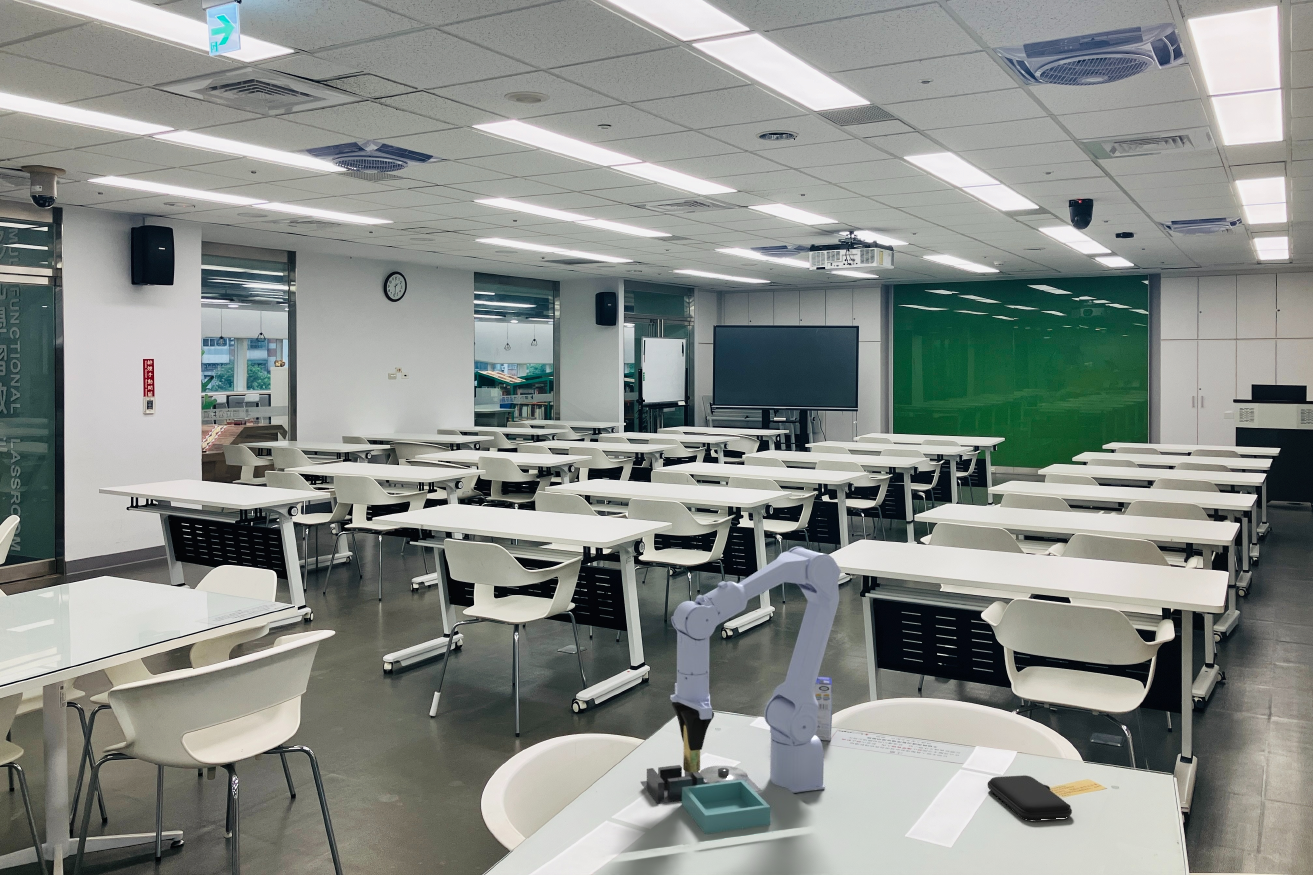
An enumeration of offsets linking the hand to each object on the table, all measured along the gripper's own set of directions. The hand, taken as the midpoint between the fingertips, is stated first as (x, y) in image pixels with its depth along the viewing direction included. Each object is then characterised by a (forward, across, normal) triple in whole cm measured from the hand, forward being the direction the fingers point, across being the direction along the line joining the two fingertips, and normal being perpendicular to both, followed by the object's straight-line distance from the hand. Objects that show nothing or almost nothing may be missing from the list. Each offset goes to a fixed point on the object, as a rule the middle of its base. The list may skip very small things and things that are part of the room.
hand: (692, 745), depth 170 cm
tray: (+10, +8, +3) cm, 13 cm away
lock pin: (+4, 0, 0) cm, 4 cm away
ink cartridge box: (+11, -25, +35) cm, 44 cm away
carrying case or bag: (+11, +17, +58) cm, 62 cm away
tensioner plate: (+10, -4, +3) cm, 12 cm away
